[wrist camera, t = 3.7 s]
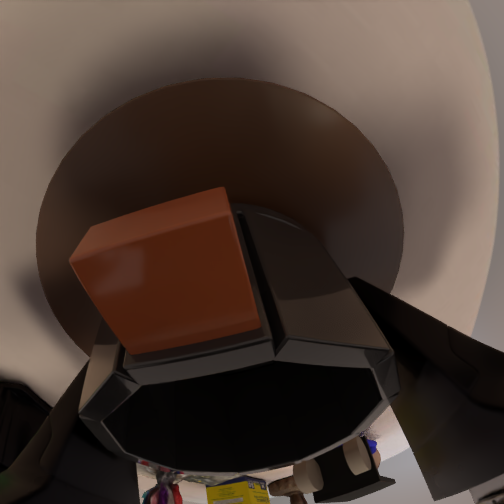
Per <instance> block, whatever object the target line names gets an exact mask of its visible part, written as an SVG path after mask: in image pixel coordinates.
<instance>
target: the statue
mask: <svg viewBox="0 0 504 504" xmlns="http://www.w3.org/2000/svg"><path fill="white" fill-rule="evenodd" d="M136 464H137V475H140V476H145V477H149V478H153V479H157V483H158V484H156V486H155V487H153V488H151V489H149V490H147V491H146V492H144V494H143V496H142V497H143V498H144V500H143V503H142V504H182V497H181V495H180V492H179V485H178V484H177V483H178V482H180V481H182V480H186V481H188V482H196V483H201V484H205V485H210V486H215V485H217V484H220V483H222V482H225V481H227V480H229V479H233V478H237V477H240V476H242V475H239V474H236V475H235V476H201V475H185V474H174V473H172V472H164V471H160V470H157V469H154V468H151V467H148V466H145V465H142V464H139V463H136ZM173 483H175V484H173Z"/></svg>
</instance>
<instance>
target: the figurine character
mask: <svg viewBox="0 0 504 504" xmlns="http://www.w3.org/2000/svg"><path fill="white" fill-rule="evenodd" d="M376 445H377V442H376V441H373V440H368V439H367V438H366V436H363V437H361V438H360V437H359V436H356V437H354V438H353V439H351V440H349V441H347V442H345V443H343V444H341V445H339V446H337V447H336V448H334V449H332V450H329V451H327V452H325V453H323V454H321V455H319V456H317V457H315V458H312V459H310V460H302V462H301V463H299V464H295V465H294V466H293V476H294V480H295V482H296V485H297V486H298V488H299V489H300V491H302V492H303V493H305V494H308V493H312V492H313V496H314V501H315V503H329V502H346V501H351V500H354V499H357V498H360V497H362V496H365V495H368V494H371V493H373V492H376V491H378V490H381V489H383V488H385V487H388V486H390V485H393V484H395V483H396V482H395V480H394V479H391V478H387V477H383V476H380V475H379V472H378V467H379V465H380V461H381V458H380V453H379V451H378V450H377V449H376Z"/></svg>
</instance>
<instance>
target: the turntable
mask: <svg viewBox="0 0 504 504" xmlns="http://www.w3.org/2000/svg"><path fill="white" fill-rule="evenodd" d="M218 187H225V188H226V190H227V193H228V197H229V201H230V203H242V204H251V205H256V206H261V207H265V208H268V209H271V210H274V211H277V212H280V213H282V214H284V215H286V216H288V217H290V218H292V219H294V220H295V221H297V222H298V223H299V224H301V225H302V226H304V227H305V228H306V229H307V230H308V231H309V232H310V233H311V234H313V235H314V236H315V237H316V239H318V240H320V242H321V243H322V244H323V246H324V247H325V248H326V250H327V251H328V253H329V254H330V255H331V257H332V258H333V260H334V261H335V262H336V264H337V265H338V267H339V268H340V270H341V271H342V272H343V274H344V275H345V277H346V278H351V277H354V276H355V277H358V278H360V279H362V280H364V281H366V282H368V283H370V284H372V285H374V286H376V287H378V288H379V289H381V290H383V291H385V292H387V293H389V294H390V292H391V290H392V288H393V286H394V283H395V280H396V277H397V274H398V271H399V267H400V262H401V257H402V252H403V238H404V227H403V215H402V209H401V204H400V200H399V196H398V192H397V189H396V186H395V184H394V182H393V179H392V177H391V174H390V172H389V170H388V168H387V166H386V165H385V163H384V161H383V160H382V158H381V157H380V155H379V153H378V152H377V150H376V149H375V147H374V146H373V145H372V144H371V143H370V141H369V140H368V139H367V138H366V137H365V136H364V135H363V134H362V133H361V131H360V130H359V129H358V128H357V127H356V126H355V125H353V124H352V123H351V122H350V121H348V120H347V119H346V118H345V117H343V116H342V115H341V114H339V113H338V112H337V111H336V110H334V109H333V108H331V107H329V106H327V105H326V104H324V103H322V102H320V101H318V100H317V99H315V98H313V97H311V96H309V95H307V94H305V93H302V92H299V91H296V90H293V89H291V88H288V87H285V86H281V85H278V84H275V83H270V82H265V81H258V80H252V79H245V78H203V79H197V80H191V81H186V82H181V83H176V84H171V85H167V86H164V87H161V88H159V89H156V90H153V91H151V92H148V93H146V94H143V95H141V96H138V97H136V98H134V99H132V100H130V101H128V102H127V103H125V104H123V105H122V106H120V107H118V108H117V109H115V110H113V111H112V112H110V113H109V114H107V115H105V116H104V117H103V118H102V119H101V120H99V121H98V122H97V123H96V124H95V125H94V126H92V127H91V128H90V129H89V130H88V131H87V132H86V133H85V134H83V135H82V136H81V137H80V139H79V140H78V141H77V142H76V143H75V145H74V146H73V147H72V148H71V149H70V151H69V152H68V153H67V155H66V156H65V157H64V158H63V160H62V161H61V163H60V165H59V167H58V168H57V170H56V172H55V174H54V176H53V177H52V179H51V181H50V183H49V185H48V188H47V191H46V194H45V197H44V199H43V202H42V206H41V209H40V214H39V219H38V226H37V232H36V258H37V264H38V271H39V277H40V280H41V284H42V287H43V290H44V293H45V296H46V299H47V301H48V303H49V305H50V307H51V309H52V311H53V313H54V315H55V317H56V318H57V320H58V321H59V323H60V324H61V326H62V327H63V329H64V330H65V332H66V333H67V334H68V335H69V337H70V338H71V339H72V340H73V341H74V342H75V343H76V345H77V346H78V347H79V348H80V349H82V350H83V351H84V352H85V353H86V354H87V355H88V356H89V357H91V354H92V350H93V346H94V343H95V339H96V336H97V333H98V329H99V326H100V323H101V319H102V315H101V314H100V312H99V311H98V309H97V308H96V306H95V305H94V303H93V302H92V300H91V298H90V297H89V295H88V294H87V292H86V290H85V289H84V287H83V285H82V284H81V282H80V280H79V279H78V277H77V275H76V274H75V272H74V270H73V268H72V267H71V265H70V263H69V258H70V257H71V255H72V254H73V252H74V250H75V249H76V247H77V246H78V244H79V243H80V241H81V240H82V238H83V237H84V235H85V234H86V233H87V231H88V230H89V228H90V227H92V226H95V225H97V224H100V223H103V222H106V221H109V220H112V219H115V218H118V217H121V216H124V215H127V214H130V213H133V212H136V211H139V210H142V209H145V208H148V207H152V206H155V205H158V204H161V203H165V202H168V201H171V200H175V199H178V198H182V197H185V196H189V195H192V194H196V193H199V192H203V191H207V190H210V189H214V188H218Z"/></svg>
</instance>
